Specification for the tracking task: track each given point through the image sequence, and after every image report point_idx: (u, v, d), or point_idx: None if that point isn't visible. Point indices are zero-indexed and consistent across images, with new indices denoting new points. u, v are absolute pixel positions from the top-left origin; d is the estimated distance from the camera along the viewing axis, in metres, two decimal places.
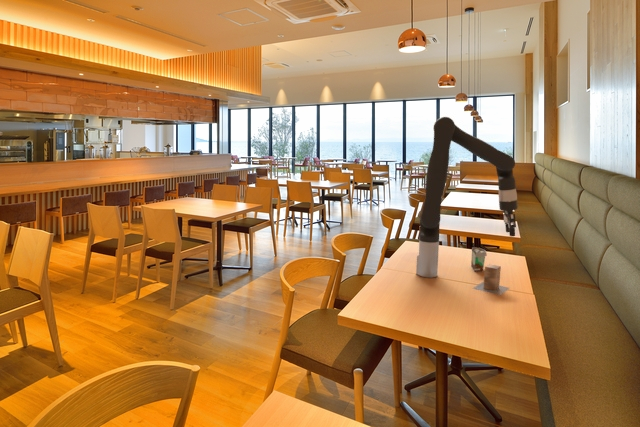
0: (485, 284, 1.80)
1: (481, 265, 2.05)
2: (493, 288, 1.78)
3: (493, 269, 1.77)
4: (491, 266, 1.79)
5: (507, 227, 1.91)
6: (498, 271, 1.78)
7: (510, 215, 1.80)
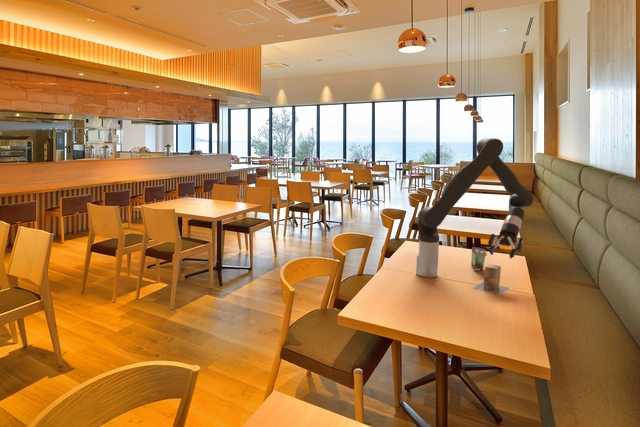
0: (485, 284, 1.80)
1: (481, 265, 2.05)
2: (493, 288, 1.78)
3: (493, 269, 1.77)
4: (491, 266, 1.79)
5: (493, 249, 1.89)
6: (498, 271, 1.78)
7: None
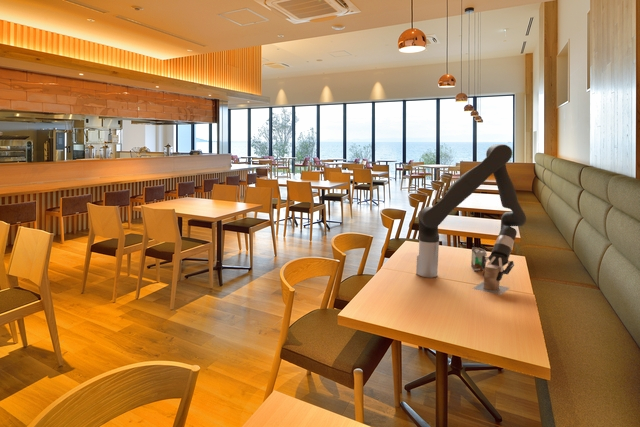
0: (485, 284, 1.80)
1: None
2: (493, 288, 1.78)
3: (493, 269, 1.77)
4: (491, 266, 1.79)
5: None
6: (498, 271, 1.78)
7: (513, 263, 1.79)
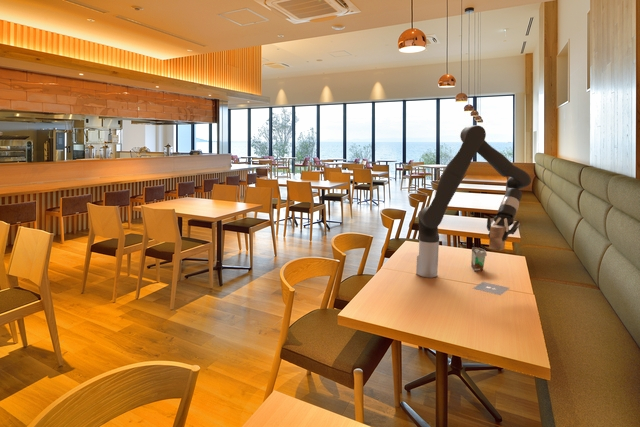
0: (491, 245, 1.80)
1: (481, 265, 2.05)
2: (499, 248, 1.77)
3: (499, 229, 1.76)
4: (497, 226, 1.79)
5: None
6: (504, 231, 1.78)
7: (518, 222, 1.78)
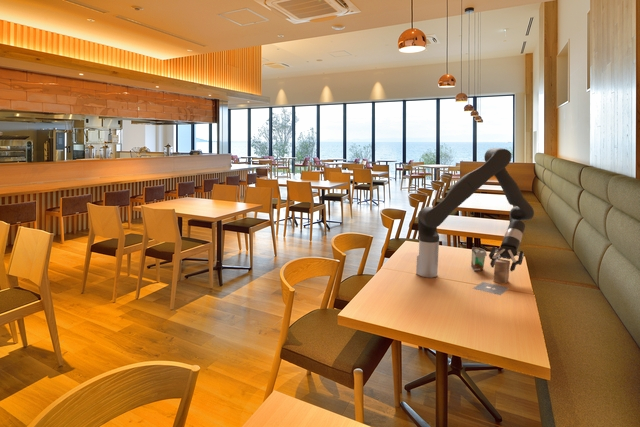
0: (495, 278, 1.89)
1: (481, 265, 2.05)
2: (503, 281, 1.87)
3: (503, 263, 1.86)
4: (501, 261, 1.88)
5: (494, 262, 1.92)
6: (507, 265, 1.87)
7: (522, 252, 1.87)
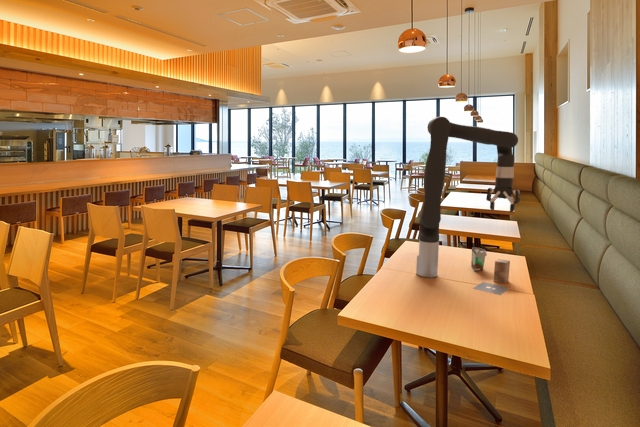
0: (495, 278, 1.89)
1: (481, 265, 2.05)
2: (503, 281, 1.87)
3: (503, 263, 1.86)
4: (501, 261, 1.88)
5: (493, 205, 1.93)
6: (507, 265, 1.87)
7: (518, 191, 1.85)
